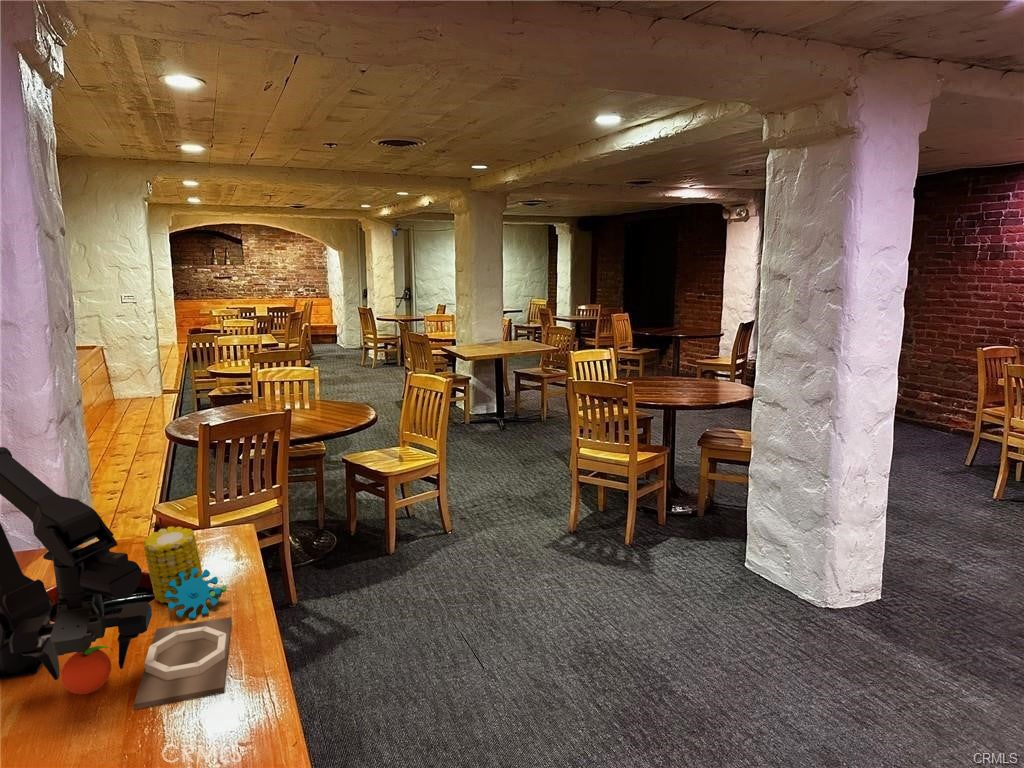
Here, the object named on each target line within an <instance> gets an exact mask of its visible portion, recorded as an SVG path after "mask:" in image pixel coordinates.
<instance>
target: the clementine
mask: <svg viewBox="0 0 1024 768" xmlns="http://www.w3.org/2000/svg"><path fill="white" fill-rule="evenodd" d="M104 648H105V649H106V648H108V649H110V650H113V648H111V647H109V646H107V645H95V646H92V647H91V646H90V648H89V649H88V650H86V651H84V652H74V654H72V655H71V656H69V658H68V659H67V660H66V662H65V663H64V665H63V667H62V670H61V675H60V678H61V683H62V685H63V687H64V688H65V689H66V690H67V691H68V692H70V693H72V694H74V695H87V694H88V695H89V694H91V693H94V692H96V691H98V690H99V689H100V688H101V687H103V686H104V684H105V683H106V682H107V681H108V679H109V677H110V675H111V672H112V663H111V658H110V657H109V655H108V654H107V653H106V652H104V651H103V650H102V649H104Z"/></svg>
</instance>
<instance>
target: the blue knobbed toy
mask: <svg viewBox="0 0 1024 768" xmlns="http://www.w3.org/2000/svg"><path fill="white" fill-rule="evenodd" d="M197 573H198V569H196V568H192V569H191V577H190V578H189V580H187V581H185V580H184V578H185V576H186V572H180V573H179V574H178V576H179V578H180V579H181V581H182V585H181V586H179V587H178V586H176V581H175V580H174V579H173V580H172V581H170V582H169V586H170V587H172V588H174V589H176V590H177V592H178V593H177V594H176V595H173V594H172V592H171V591H167V592H166V595H165V598H166V599H169V598H175V599H177V600H179V602H178V603H173V602H169V603H167V604H168V605H167V607H168V610H169V611H172V610H174V609H175V608H177V607H181V606H182V607H184V608H183V609H178V610H177V611H176V616H177V617H179V618H182V617H183V616H184V615H185V612H186V611H188V610H190V609H193V610H192V611H191V612H189V614H188V618H189V619H192V620H195V619H196V618H197V610H198V608H199V607H200V606H201V607H203V608H202V609H201V615H203V616H205V615H208V614H209V611H210V609H209V608H208V607H207V605H206V601H207V600H209V601H210V606H212V607H215V606H217V604H218V602H219V599H220V598H221V597H222V594H223V593H226V591H227V588H228V587H227V585H225V584H224V585H221V587H220V586H219V587H211V586H210V585H209V584H212V585H218V582H219V579H218V577H217V576H214V577H212V578H211V579H209V580H204V578H208V577H210V575H211V572H210V571H209V570H208V569H204V570H203V571H202V575H201V576H200V577H198V578H193V576H194V575H196V574H197ZM202 578H203V580H204V581H203V580H202Z"/></svg>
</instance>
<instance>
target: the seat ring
mask: <svg viewBox="0 0 1024 768" xmlns="http://www.w3.org/2000/svg"><path fill="white" fill-rule="evenodd" d="M201 638H204V639H207V640H210V641H212V642H215V643H218V646H217V650H215V651H214V652H212V653H210V654H209V655H207V656H206V657H204V658H203V659H201V660H200V661H198V662H195V663H190V664H184V665H178V666H173V667H168V666H166V665H164V664H161V663H159V662H156V659H157V656H158V654H160V653H161V652H163V651H165V650H166V649H168V648H170V647H171V646H173V645H175V644H176V643H178V642H183V641H189V640H195V639H201ZM226 645H227V637H226V633H223V632H221V631H218V630H215V629H212V628H210V627H207V626H205V627H199V628H193V629H186V630H180V631H176V632H173V633H172V634H170V635H168V636H166V637H165V638H163V639H161V640H159V641H158V642H156V643H154V644H153V645H152V644H151V645H150V646H149V647H148V651H147V655H146V657H145V660H144V669H145V671H146V672H147V673H150V674H152V675H155V676H157V677H159V678H162V679H164V680H171V679H177V678H183V677H188V676H194V675H199V674H201V673H203V672H204V671H206V670H207V669H209V668H210V667H212V666H213V665H215V664H216V663H218V662H219V661H221V660H222V659H224V658H225V653H226Z"/></svg>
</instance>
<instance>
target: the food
mask: <svg viewBox="0 0 1024 768" xmlns="http://www.w3.org/2000/svg"><path fill="white" fill-rule="evenodd" d="M194 533H195V531H194V530H193V529H192V528H187V527H184V528H183V527H182V526H177V527H175V526H168V527H167V528H160V529H159V530H158V531H154V532H151V534H150V535H147V536H146V539H145V540H143V541H144V542H143V543H144V545H143V549H144V554H145V558H146V564H147V570H148V571H149V572H148V575H149V579H150V582H151V585H152V592H153V593H152V594H153V595H154V598H155V600H156V601H157V602H159V603H161V604H163V603H164V604H165V603H166V604H168V603H169V602H173V603H178V602H179V600H177V599H175V598H169V599H166V598H165V595H166V592H167V591H171V592H172V594H173V595H176V594H177V593H178V592H177V590H176V589H174V588H172V587H170V586H169V582H170V581H172V580H173V579H174V580H175V581H176V586H178V587H179V586H181V585H182V581H181V579H180V578H179V576H178V574H179V573H180V572H186V576H185V578H184V580H185V581H187V580H189V578H190V577H191V569H192V568H196V569H198V573H197V574H196V575H194V576H193V578H198V577H200V576H201V575H202V574H203V570H202V565H201V559H200V556H199V552H200V551H199V550H198V545H197V542H196V541H197V539H196V536H195V534H194ZM202 580H203V581H205V580H204V577H203V578H202Z"/></svg>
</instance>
